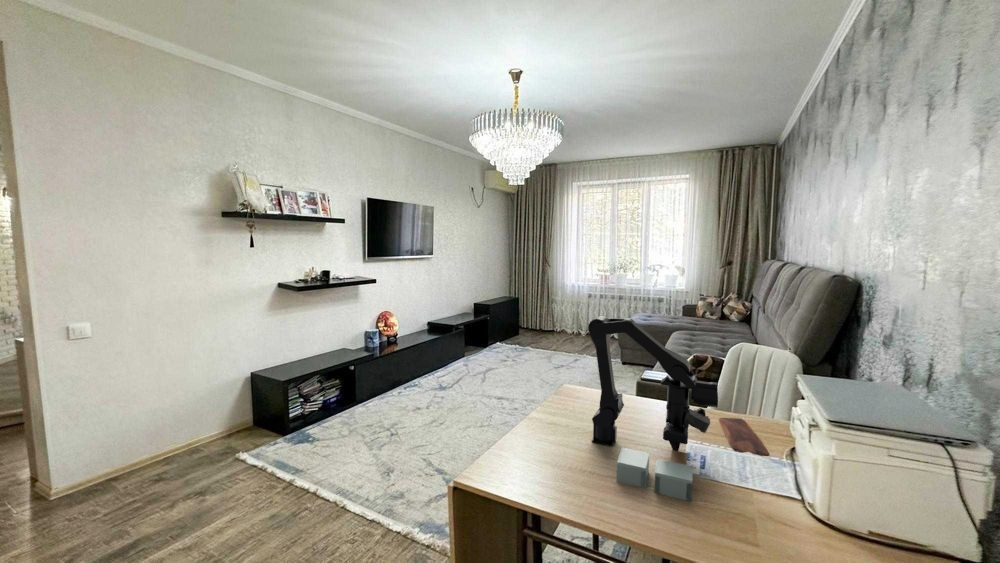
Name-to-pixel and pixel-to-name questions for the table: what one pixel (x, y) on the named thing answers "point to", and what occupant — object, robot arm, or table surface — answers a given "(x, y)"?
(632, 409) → the table surface
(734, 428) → the wooden tablet
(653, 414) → the table surface
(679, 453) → the brown wooden bar
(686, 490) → the end cap
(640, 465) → the end cap
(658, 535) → the table surface
